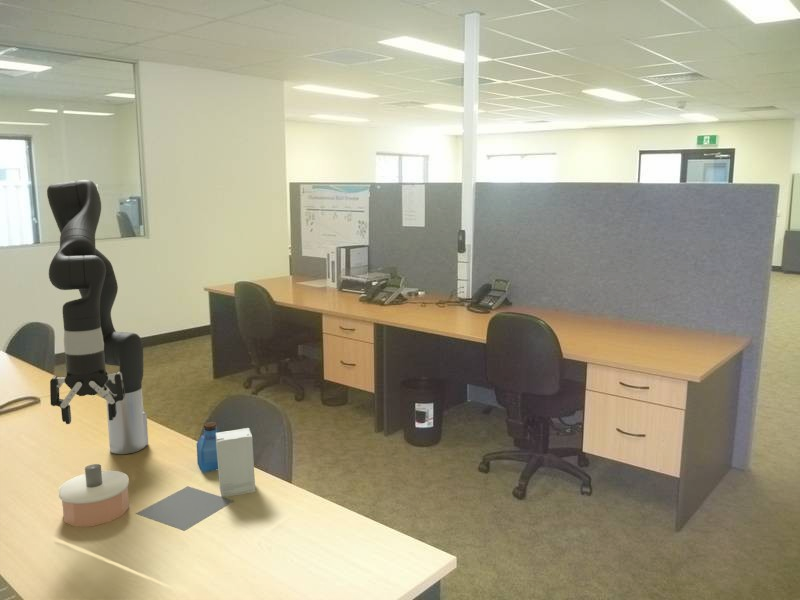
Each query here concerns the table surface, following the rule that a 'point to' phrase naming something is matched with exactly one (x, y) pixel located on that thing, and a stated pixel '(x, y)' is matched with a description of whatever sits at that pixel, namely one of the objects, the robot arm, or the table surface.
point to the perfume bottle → (207, 448)
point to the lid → (93, 486)
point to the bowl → (96, 510)
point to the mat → (185, 508)
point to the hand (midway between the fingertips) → (90, 421)
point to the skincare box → (235, 462)
